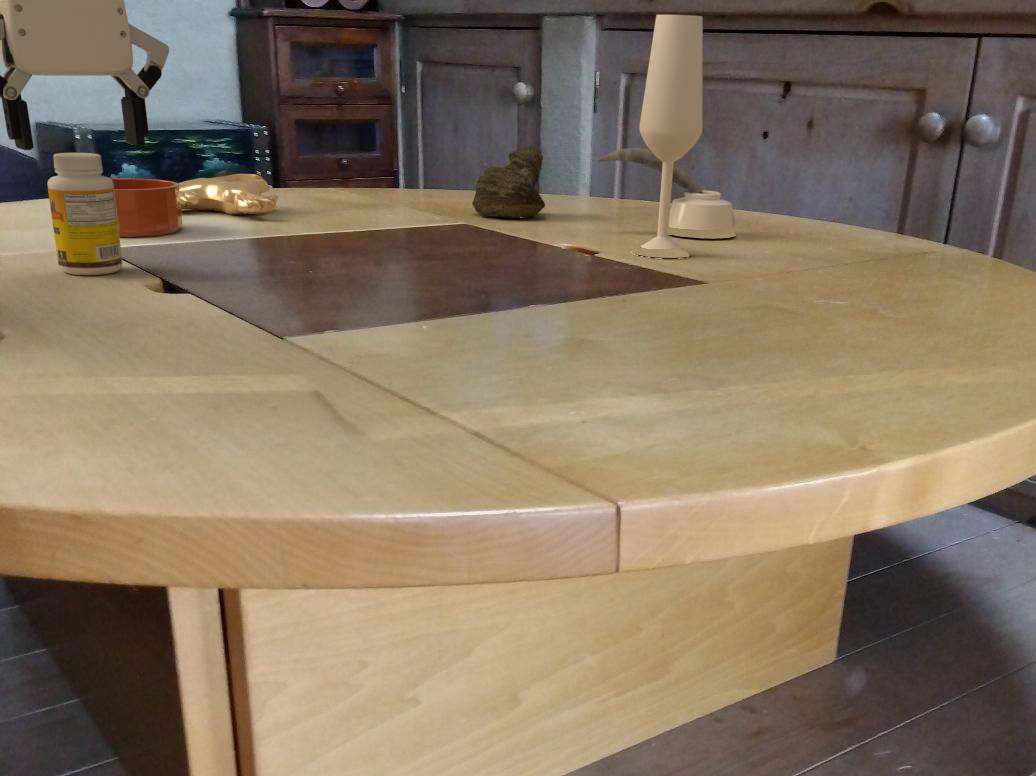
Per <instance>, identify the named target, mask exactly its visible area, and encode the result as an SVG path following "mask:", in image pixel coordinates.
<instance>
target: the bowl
mask: <svg viewBox="0 0 1036 776" xmlns="http://www.w3.org/2000/svg"><path fill="white" fill-rule="evenodd" d="M110 179H111V180H112V181H113V184H114V193H115V202H116V210H117V219H118V228H119V237H120V238H142V237H143V238H144V237H155V236H163V235H170V234H173V233H176V232H178V231H179V227H181V226H183V214H182V209H181V201H180V190H179V184H178V183H179V182H175V181H172V180H164V179H154V178H153V179H152V178H132V177H131V178H125V177H124V178H123V177H122V178H118V177H117V178H115V177H114V178H110Z"/></svg>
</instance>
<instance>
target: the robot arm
mask: <svg viewBox="0 0 1036 776" xmlns="http://www.w3.org/2000/svg"><path fill="white" fill-rule="evenodd" d="M133 45H134V46H136V47H138V48H139V49H141V50H144V51H145V53H146V59H145V61H146V62H145V64H144V65H143V67H142V68H141V69H140V70H139V72H138V73H136V72H135V71H134V70H133V69H132V68H133V65H134V51H133ZM169 53H170V47H169V46H168V45H167V44H166V43H165V42H163V41H162V40H159V39H157V38H156V37H154V36H152V35H150V34H149V33H147V32H145V31H143V30H142V29H139V28H138V27H136V26H134V25H132V24H130V23H129V18H128V14H127V8H126V5H125V0H0V57H1V61H2V64H3V65H4V66H5V68H6V70H5V71H4V73H3V74H2V75H1V74H0V99H1V103H2V111H3V114H4V115H3V116H4V121H5V128H6V134H7V137H8V139H9V140H11V141H13V140H14V143H15V144H14V145H15V147H16V148H17V149H20V150H23V151H32V149H34V147H35V145H34V140H33V134H32V133H33V132H32V127H31V121H30V113H29V108H28V103H27V101H25V99H22V92H23V90H24V88H25V87H26V86H27V84H28V83H29V81H30V80H31V78H32V76H44V77H45V76H46V77H47V76H51V77H52V76H54V77H55V76H56V77H63V76H64V77H65V76H67V77H70V76H72V77H73V76H75V77H76V76H78V77H79V76H84V77H85V76H87V77H88V76H89V77H90V76H99V77H101V76H110V77H111V78H112V79H113V80H114V81H115V82H116V84H118V86H119V87H120V88H121V89H122V90H123V91H124V96H122V97H121V98H120V105H121V111H122V120H123V128H124V137H125V141H126V143H127V144H129V145H133V146H137V147H144V146H146V137H145V136H148V135H149V123H148V115H147V105H146V98H148V97H149V95H150V91H151V90H152V89H153V88H154V86H155V85H156V84H157V83H158V81H160V79H161V78H162V76H163V75H162V74H163V73H162V71H163V69H164V67H165V64H166V61H167V59H168V56H169V55H170V54H169Z"/></svg>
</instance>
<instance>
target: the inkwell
mask: <svg viewBox="0 0 1036 776" xmlns="http://www.w3.org/2000/svg"><path fill="white" fill-rule="evenodd" d="M610 161H618V162H619V161H621V162H622V161H627V162H630V163H636V164H641V165H643V166H644V167H647V168H650V169H653V170H656V171H659V172H661V173H662V165H663V162H662V161H661V160H660V159H658V158H657V157H656V156H655V155H654V154H653V152H652V151H651V150H650V149H649V148H643V147H631V148H630V147H629V148H628V147H627V148H621V149H617V150H614V151H611V152H608V153H607V154H604V155H603V156H602V157H601V158H599V159H598V160H597V161H596V163H602V162H603V163H604V162H610ZM673 182H674V183H676V184H678V186H679V187H681V188H683V189H686V190H685V191H683V196H681V197H676V198H673V199H672V200H671V202H670V215H669V227H671V228H679V229H693V230H714V229H726V228H731V227H734V226H735V227H736V221H735V217H734V216H735V215H734V209H733V205H732V203H731V201H729V200H726V199H723V198H721V197H722V193H721V192H720V191H715V190H706V189H702V188H701V186H700V184H699V183H698V182H697V181H696V179H694V178H693V176H692V175H690V174H689V172H687V171H686V169H684V168H683V167H682V166H681V165H680V164H679V163H677V162H676V161H675V162H674V164H673V176H672V183H673Z"/></svg>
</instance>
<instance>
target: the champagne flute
mask: <svg viewBox="0 0 1036 776" xmlns="http://www.w3.org/2000/svg"><path fill="white" fill-rule="evenodd" d="M703 25H704V24H703V16H701V15H691V14H690V15H689V14H656V15H655V21H654V28H653V33H652V34H653V35H652V41H651V48H650V55H649V60H648V61H649V62H648V67H647V68H648V69H647V74H646V79H645V80H646V81H645V87H644V94H643V99H642V107H641V113H640V121H639V127H638V128H639V134H640V135H641V138H642V140H643V142H644V143H645V145H646V146H647V148H648V150H651V151H652V152H653V154H654V155H655V156H656V157H657V158H658V159H660V160H661V161H662V162H663V165H662V172H661V179H660V182H661V183H660V195H659V205H658V206H659V208H658V221H657V231H656V232H657V234H656V236H655V237H653V238H651V239H650V240H648V241H647V242H645V243H643V244H642V245H640V246H641V247H642V248H646V249H672V248H676V247H679V246H680V244H678V243H677V242H675V241H674V240H673V239H671V237H669V235H668V227H669V215H670V206H671V203H672V190H673V189H672V188H673V181H672V176H673V164H674V162H675V163H676V162H677V161H678V160H680V159H682V158H683V157H684V156H685V155H686V154H687V153H688V152H689V151H690V150H691V149H692V148H693V147H694V146H695V145H696V144H697V142H698V141H699V139H700V138H701V136H702V133H703V89H704V88H703V87H704V85H703V84H704V83H703V75H704V74H703V59H704V58H703V57H704V56H703V52H704V51H703V49H704V48H703V43H704V42H703V39H704V37H703V31H704V29H703V27H704V26H703ZM630 253H631V255H634V256H637V257H639V256H638V255H635V254H633V253H632V251H631V252H630ZM640 257H642V258H644V257H643V256H640ZM646 258H649V259H651V258H650V257H646ZM688 258H689V257H687V258H686V259H688ZM656 259H657V260H658V259H660V260H663V259H662V258H656ZM680 259H681V260H682V259H683V258H678V259H677V260H680Z"/></svg>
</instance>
